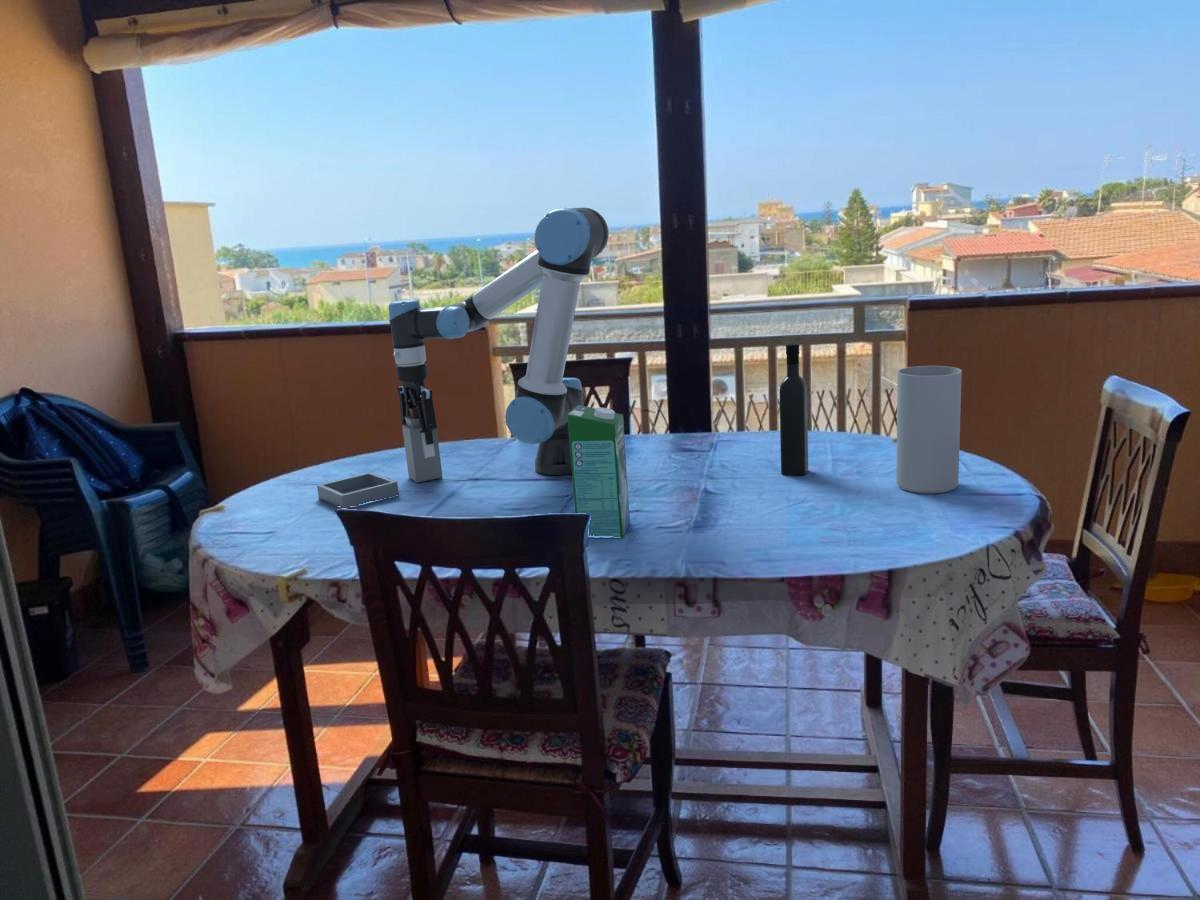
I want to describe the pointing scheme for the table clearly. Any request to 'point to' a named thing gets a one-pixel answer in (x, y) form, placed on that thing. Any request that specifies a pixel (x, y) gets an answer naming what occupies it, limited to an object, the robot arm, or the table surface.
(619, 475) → the milk carton
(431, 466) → the perfume bottle
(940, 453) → the cylinder vase
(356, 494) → the tray
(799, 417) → the wine bottle
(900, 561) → the table surface
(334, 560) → the table surface
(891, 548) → the table surface
